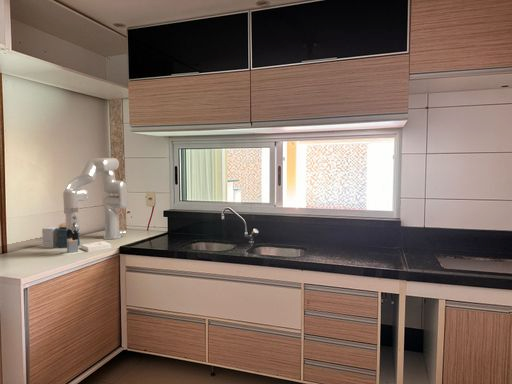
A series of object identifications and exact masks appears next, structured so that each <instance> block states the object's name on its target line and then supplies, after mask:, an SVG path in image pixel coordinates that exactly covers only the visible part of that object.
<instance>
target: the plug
mask: <svg viewBox="0 0 512 384" xmlns="http://www.w3.org/2000/svg"><path fill="white" fill-rule="evenodd" d="M78 249H79V246H78V240H72V239H67V248H66V251H67V252H68V253H74V252H78Z"/></svg>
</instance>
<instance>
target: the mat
mask: <svg viewBox="0 0 512 384" xmlns="http://www.w3.org/2000/svg"><path fill="white" fill-rule="evenodd" d="M61 253H62V254H64V255H65V256H69V255H73V254H74V255H75V254H81V253H82V254H83V253H84V251H83V250H81V249H79V248H78V252H74V253H68V252H67V250H65V251H61Z"/></svg>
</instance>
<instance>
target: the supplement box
mask: <svg viewBox="0 0 512 384" xmlns="http://www.w3.org/2000/svg"><path fill="white" fill-rule="evenodd" d="M58 228H59V227H58V226H47V227H44V228H41V233H42V234H41V235H42V248H43V249H44V248H46V249H49V248H50V249H51V248H52V249H54V248H57V247H58V236H57V234H58V231H57V229H58Z"/></svg>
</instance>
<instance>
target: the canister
mask: <svg viewBox="0 0 512 384" xmlns="http://www.w3.org/2000/svg"><path fill="white" fill-rule="evenodd" d="M57 227H59V228H58V229H57V231H58V234H57V236H58V246H57V247H58V248H60V249H67V239H72V237H69V238H67V228H66V222H64V223H60V224H59V225H57ZM79 230H80V228H79V229H78V247H79V246H81V242H80V231H79ZM71 231H72V230H71Z"/></svg>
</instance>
